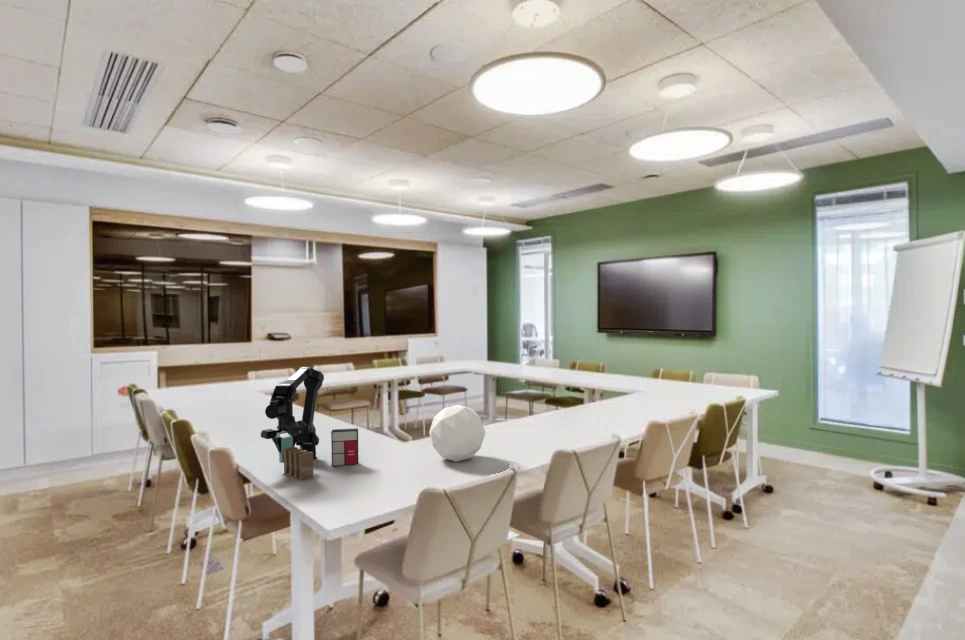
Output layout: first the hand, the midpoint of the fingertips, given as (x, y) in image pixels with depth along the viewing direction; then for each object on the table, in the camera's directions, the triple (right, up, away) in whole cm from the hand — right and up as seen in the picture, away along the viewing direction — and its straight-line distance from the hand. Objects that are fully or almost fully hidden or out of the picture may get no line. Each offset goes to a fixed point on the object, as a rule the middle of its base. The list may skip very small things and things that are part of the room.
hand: (286, 451), depth 218 cm
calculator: (+22, -8, +8) cm, 25 cm away
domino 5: (+12, -8, -11) cm, 18 cm away
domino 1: (0, -4, 0) cm, 4 cm away
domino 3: (+6, -8, -5) cm, 11 cm away
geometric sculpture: (+70, -7, +15) cm, 72 cm away
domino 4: (+9, -8, -8) cm, 15 cm away
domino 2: (+3, -8, -3) cm, 9 cm away
